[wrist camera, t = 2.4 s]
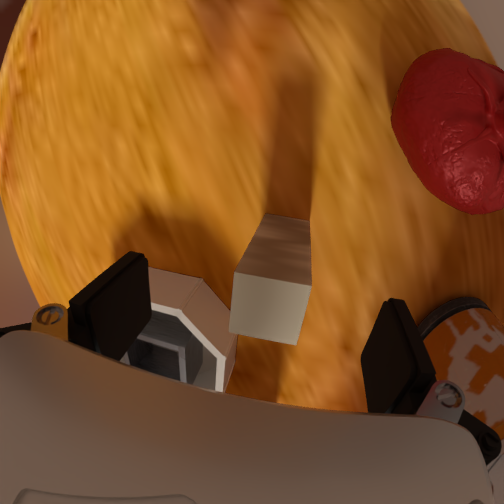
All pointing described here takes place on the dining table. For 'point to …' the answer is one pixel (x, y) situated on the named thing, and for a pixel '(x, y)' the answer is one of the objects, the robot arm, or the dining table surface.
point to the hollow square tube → (163, 360)
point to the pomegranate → (454, 128)
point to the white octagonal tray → (197, 322)
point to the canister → (469, 356)
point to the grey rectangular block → (273, 281)
